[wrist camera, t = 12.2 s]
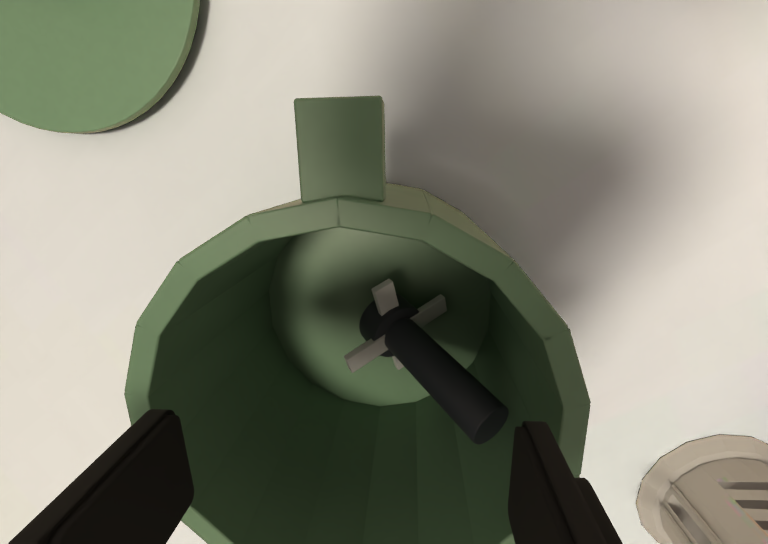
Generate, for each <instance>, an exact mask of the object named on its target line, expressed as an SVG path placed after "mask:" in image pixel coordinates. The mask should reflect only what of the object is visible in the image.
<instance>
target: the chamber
mask: <svg viewBox="0 0 768 544" xmlns="http://www.w3.org/2000/svg"><path fill="white" fill-rule="evenodd" d="M294 110H295V123H296V136H297V150H298V163H299V176H300V190H301V199H299V200H295V201H292V202H289V203H285V204H282V205H279V206H276V207H272V208H269V209H266V210H262V211H259V212H256V213H253V214H249V215H248V216H245V217H244V218H242V219H240V220H239V221H237V222H236V223H234V224H233V225H231V226H230V227H228V228H227V229H225V230H224V231H222V232H220V233H219V234H217V235H216V236H214V237H213V238H211V239H210V240H208V241H207V242H205V243H204V244H202V245H200V246H199V247H197V248H196V249H194V250H193V251H191V252H190V253H188V254H187V255H185V256H183V257H182V258H180V260H179V261H177V262H176V263H175V265H174V266H173V268H172V269H171V271H170V273H169V274H168V276H167V277H166V279H165V280H164V282H163V283H162V285H161V286H160V288H159V289H158V291H157V292H156V294H155V295H154V297H153V298H152V300H151V301H150V303H149V304H148V306H147V307H146V309H145V310H144V312H143V313H142V315H141V316H140V318H139V319H138V321H137V324H136V327H135V333H134V338H133V344H132V350H131V356H130V362H129V368H128V374H127V380H126V386H125V393H124V395H125V399H126V404H127V408H128V413H129V417H130V421H131V426H132V425H133V424H134V423H135V422H136V421H137V420H138V419H139V418H140V417H141V416H142V415H144V414H145V413H146V412H147V411H148V410H150V409H168V410H173V411H174V412H175V415H177V416H179V418H180V421H181V426H182V431H183V436H184V441H185V446H186V451H187V456H188V461H189V466H190V471H191V476H192V480H193V485H194V497H193V501H192V503H191V505H190V507H189V508H188V510H187V511H186V513H185V514H184V516H183V518H182V519H181V521H182V522H183V523H184V524H185V525H187V526H188V527H189V528H190V529H191V530H192V531H194V532H195V533H196V534H197V535H198V536H199V537H201V538H202V539H203V540H204V541H205V542H206V543H208V544H515V541H514V537H513V533H512V529H511V526H510V522H509V516H508V497H509V486H510V475H511V464H512V453H513V442H514V431H515V427H516V426H519V427H521V426H522V423H523V421H544V422H546V423H547V424H548V426H549V428H550V430H551V432H552V434H553V436H554V438H555V440H556V442H557V444H558V446H559V448H560V450H561V452H562V454H563V456H564V458H565V460H566V462H567V464H568V466H569V468H570V470H571V472H572V474H573V476H574V478H579V474H581V467H582V460H583V453H584V446H585V439H586V432H587V425H588V418H589V411H590V399H589V395H588V392H587V388H586V385H585V381H584V378H583V374H582V371H581V367H580V364H579V360H578V357H577V353H576V350H575V346H574V343H573V339H572V336H571V332H570V329H569V328H568V326H567V324H566V323H565V322H564V321H563V319H562V318H561V317H560V316H559V315H558V313H557V312H556V311H555V310H554V308H553V307H552V306H551V305H550V303H549V302H548V301H547V300H546V298H545V297H544V296H543V295H542V294H541V292H540V291H539V290H538V289H537V287H536V286H535V285H534V284H533V282H532V281H531V280H530V279H529V277H528V276H527V275H526V274H525V272H524V271H523V270H522V269H521V268H520V266H519V265H518V264H517V263H516V261H514V260H513V259H512V258H511V257H510V256H509V255H508V254H507V253H506V252H505V251H504V250H503V249H502V248H500V247H499V246H498V245H497V244H496V243H495V242H494V241H493V240H492V239H491V238H490V237H489V236H488V235H486V234H485V233H484V232H483V231H482V230H481V229H480V228H479V227H478V226H477V225H476V224H475V223H474V222H472V221H471V220H470V219H469V218H468V217H467V216H466V215H465V214H464V213H463V212H461V211H460V210H458V209H456V208H454V207H453V206H451V205H449V204H447V203H446V202H444V201H443V200H441V199H439V198H437V197H435V196H434V195H432V194H430V193H428V192H427V191H425V190H423V189H420V188H414V187H408V186H403V185H397V184H390V183H386V176H385V117H384V102H383V100H382V97H381V96H357V97H326V98H297V99H295V100H294ZM387 279H390V280H391V281H393V284H394V288H395V292H396V294H399V295H401V296H402V297H404V298H405V299H406V300H407V301H408V302H409V303H410V304H412V305H413V306H414V307H415V308H416V309H418V308H420V307H421V306H423V305H424V304H426V303H428V302H429V301H431V300H432V299H434V298H435V297H437V296H438V295H440V294H441V295H443V296H444V297H445V301H446V308H447V311H446V312H444V313H443V314H441V315H440V316H438V317H437V318H435V319H434V320H432V321H431V322H429V323H428V324H426V325H425V326H423V327H422V329H423V330H424V331H425V332H426V333H427V334H428V335H429V336H430V337H431V338H432V339H434V340H435V341H436V342H437V343H438V344H439V345H440V346H441V347H442V348H443V349H444V350H445V351H447V352H448V353H449V354H450V355H451V356H452V357H453V358H454V359H455V360H456V361H457V362H459V363H460V364H461V365H462V366H463V367H464V368H465V369H466V370H467V371H468V372H469V373H470V374H472V375H473V376H474V377H475V378H476V379H477V380H478V381H479V382H480V383H481V384H482V385H483V386H485V387H486V388H487V389H488V390H489V391H490V392H491V393H492V394H493V395H494V396H495V397H496V398H498V399H499V400H500V401H501V402H502V403H503V404H504V405H505V406H506V407H507V408H508V410H509V414H508V418H507V420H506V422H505V424H504V425H503V427H502V428H501V429H500V431H499V432H498V433H497V434H496V435H495V436H494V437H492V438H491V439H490V440H488V441H487V442H485V443H483V444H479V445H478V444H475V443H473V441H472V440H471V439H470V438H469V437H468V436H467V435H466V434H465V433H464V432H463V431H462V429H461V428H460V427H459V426H458V425H457V424H456V423H455V422H454V421H453V420H452V418H451V417H450V416H449V415H448V414H447V413H446V412H445V411H444V410H443V409H442V407H441V406H440V405H439V404H438V403H437V402H436V401H435V400H434V399H433V398H432V396H431V395H430V394H429V393H428V392H427V391H426V390H425V389H424V388H423V387H422V385H421V384H420V383H419V382H418V381H417V380H416V379H415V378H414V377H413V376H412V374H411V373H410V372H409V371H408V370H407V369H406V368H405V367H402V368H401V369H400V370H398V369H397V368H396V367H395V365H394V361H393V358H392V357H383V356H380V355H379V356H378V357H376V358H375V359H373V360H372V361H370V362H369V363H367V364H366V365H364V366H362V367H361V368H359V369H358V370H356V371H355V372H353V373H352V372H351V371H350V370H349V368H348V366H347V363H346V361H345V359H344V356H345V355H346V354H348V353H349V352H351V351H352V350H354V349H355V348H357V347H359V346H360V345H362V344H363V343H365V342H366V340H365V339H364V338H363V337H362V335H361V333H360V330H359V323H360V319H361V316H362V314H363V312H364V310H365V309H366V308H367V306H368V305H369V304H370V303H371V302H372V301H374V296H373V293H372V290H371V289H372V288H374V287H375V286H377V285H379V284H380V283H382V282H384V281H385V280H387Z"/></svg>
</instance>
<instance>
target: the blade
mask: <svg viewBox="0 0 768 544" xmlns="http://www.w3.org/2000/svg"><path fill="white" fill-rule="evenodd" d="M371 290H372V293H373V296H374V301H372V302H371V303H370V304H369V305H368V306H367V308H366V309H365V310H364V312H363V314H362V316H361V319H360V323H359V330H360V333H361V335H362V337H363V338H364V339H365V340H366V342H365V343H363V344H362V345H360V346H359V347H357V348H355V349H354V350H352V351H351V352H349V353H348V354H346V355H345V356H344V359H345V361H346V363H347V366H348V368H349V370H350V371H351V372H352V373H353V372H355V371H356V370H358V369H359V368H361V367H362V366H364V365H366V364H367V363H369V362H370V361H372V360H373V359H375V358H376V357H378V356H379V355H380V356H383V357H392V358H393V361H394V365H395V367H396V368H397V369H398V370H400V369H401V368H402V367H405V368H406V369H407V370H408V371H409V372H410V373H411V374H412V376H413V377H414V378H415V379H416V380H417V381H418V382H419V383H420V384H421V385H422V387H423V388H424V389H425V390H426V391H427V392H428V393H429V394H430V395H431V396H432V398H433V399H434V400H435V401H436V402H437V403H438V404H439V405H440V406H441V407H442V409H443V410H444V411H445V412H446V413H447V414H448V415H449V416H450V417H451V418H452V420H453V421H454V422H455V423H456V424H457V425H458V426H459V427H460V428H461V429H462V431H463V432H464V433H465V434H466V435H467V436H468V437H469V438H470V439H471V440H472V441H473V443H475V444H478V445H479V444H483V443H485V442H487V441H488V440H490V439H491V438H492V437H494V436H495V435H496V434H497V433H498V432H499V431H500V429H501V428H502V427H503V425H504V424H505V422H506V420H507V418H508V414H509V410H508V408H507V407H506V406H505V405H504V404H503V403H502V402H501V401H500V400H499V399H498V398H496V397H495V396H494V395H493V394H492V393H491V392H490V391H489V390H488V389H487V388H486V387H485V386H483V385H482V384H481V383H480V382H479V381H478V380H477V379H476V378H475V377H474V376H473V375H472V374H470V373H469V372H468V371H467V370H466V369H465V368H464V367H463V366H462V365H461V364H460V363H459V362H457V361H456V360H455V359H454V358H453V357H452V356H451V355H450V354H449V353H448V352H447V351H445V350H444V349H443V348H442V347H441V346H440V345H439V344H438V343H437V342H436V341H435V340H434V339H432V338H431V337H430V336H429V335H428V334H427V333H426V332H425V331H424V330H423V329H422V327H423V326H425V325H426V324H428V323H429V322H431V321H432V320H434V319H435V318H437V317H438V316H440V315H441V314H443V313H444V312H446V311H447V308H446V301H445V297H444V296H443V295H441V294H440V295H438V296H437V297H435V298H434V299H432V300H431V301H429V302H428V303H426V304H424V305H423V306H421V307H420V308H418V309H416V308H415V307H414V306H413V305H412V304H410V303H409V302H408V301H407V300H406V299H405V298H404V297H402V296H401V295H399V294H396V292H395V288H394V284H393V281H391V280H390V279H387V280H385V281H384V282H382V283H380V284H379V285H377V286H375V287H374V288H372V289H371Z"/></svg>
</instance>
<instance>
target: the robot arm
mask: <svg viewBox="0 0 768 544" xmlns="http://www.w3.org/2000/svg"><path fill="white" fill-rule="evenodd" d="M193 497H194V485H193V480H192V476H191V471H190V466H189V461H188V456H187V451H186V446H185V441H184V436H183V431H182V426H181V421H180V418H179V416H177V415H175V412H174V411H173V410H168V409H150V410H148V411H147V412H146V413H145V414H144V415H142V416H141V417H140V418H139V419H138V420H137V421H136V422H135V423H134V424H133V425H132V426H131V427H130V428H129V429H128V430H127V431H126V432H125V433H124V434H123V435H121V436H120V437H119V438H118V439H117V440H116V441H115V442H114V443H113V444H112V445H111V446H110V447H109V448H108V449H107V450H106V451H105V452H104V453H103V454H102V455H100V456H99V457H98V458H97V459H96V460H95V461H94V462H93V463H92V464H91V465H90V466H89V467H88V468H87V469H86V470H85V471H84V472H83V473H82V474H81V475H79V476H78V477H77V478H76V479H75V480H74V481H73V482H72V483H71V484H70V485H69V486H68V487H67V488H66V489H65V490H64V491H63V492H62V493H61V494H59V495H58V496H57V497H56V498H55V499H54V500H53V501H52V502H51V503H50V504H49V505H48V506H47V507H46V508H45V509H44V510H43V511H42V512H41V513H40V514H38V515H37V516H36V517H35V518H34V519H33V520H32V521H31V522H30V523H29V524H28V525H27V526H26V527H25V528H24V529H23V530H22V531H21V532H20V533H19V534H17V535H16V536H15V537H14V538H13V539H12V540H11V541H10V542H9V544H166V542H167V541H168V539H169V538H170V536H171V535H172V533H173V532H174V530H175V528H176V527H177V525H178V524H179V522H180V521H181V519H182V518H183V516H184V514H185V513H186V511H187V510H188V508H189V507H190V505H191V503H192V501H193ZM508 516H509V522H510V526H511V529H512V533H513V537H514V541H515V544H622V542H621V540H620V538H619V536H618V534H617V532H616V531H615V529H614V527H613V525H612V523H611V521H610V519H609V518H608V516H607V514H606V512H605V510H604V508H603V506H602V504H601V503H600V501H599V499H598V497H597V495H596V493H595V491H594V490H593V488H592V486H591V485H590V483H589V482H588V480H586V479H585V478H574V476H573V474H572V472H571V470H570V468H569V466H568V464H567V462H566V460H565V458H564V456H563V454H562V452H561V450H560V448H559V446H558V444H557V442H556V440H555V438H554V436H553V434H552V432H551V430H550V428H549V426H548V424H547V423H546V422H544V421H523V423H522V426H521V427H519V426H516V427H515V431H514V442H513V453H512V464H511V475H510V486H509V497H508Z"/></svg>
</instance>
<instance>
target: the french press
mask: <svg viewBox="0 0 768 544" xmlns="http://www.w3.org/2000/svg"><path fill="white" fill-rule="evenodd" d="M636 505H637V509H638V513H639V517H640V520H641V524H642V526H643V527H644V528H645V529H646V530H647V531H648V532H649V533H650V534H651V536H652V537H653V538H654V539H655V540H656V541H657V542H658V543H661V544H768V444H766V443H764V442H762V441H760V440H757V439H755V438H753V437H746V436H732V435H716V436H712V437H707V438H703V439H699V440H695V441H691V442H687V443H685V444H683V445H682V446H680V447H678V448H677V449H675V450H673V451H672V452H670V453H668V454H667V455H665V456H663V457H662V458H660V459H659V460H658V461H657V463H656V464H655V465H654V466H653V467H652V469H651V470H650V471H649V472H648V474H647V475H646V476H645V477H644V478H643V480H642V483H641V486H640V490H639V494H638V498H637V502H636Z"/></svg>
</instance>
